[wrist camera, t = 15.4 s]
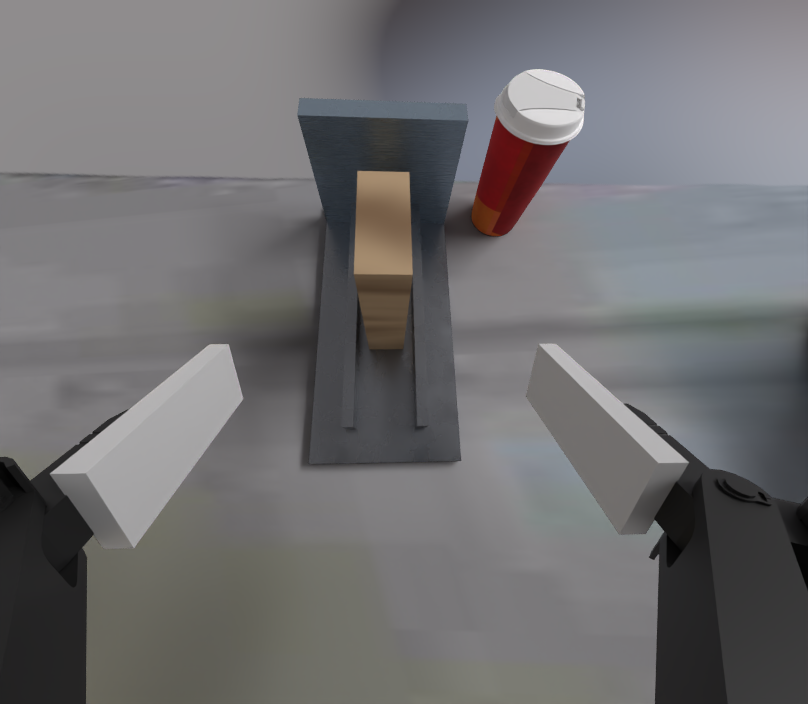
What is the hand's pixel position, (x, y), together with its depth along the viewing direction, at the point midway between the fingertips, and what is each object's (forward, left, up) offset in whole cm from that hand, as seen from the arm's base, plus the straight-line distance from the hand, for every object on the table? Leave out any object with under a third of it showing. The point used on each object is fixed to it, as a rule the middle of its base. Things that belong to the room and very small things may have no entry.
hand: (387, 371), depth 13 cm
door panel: (+7, -8, -17) cm, 20 cm away
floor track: (+7, -8, -18) cm, 21 cm away
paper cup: (+6, -27, -18) cm, 33 cm away
